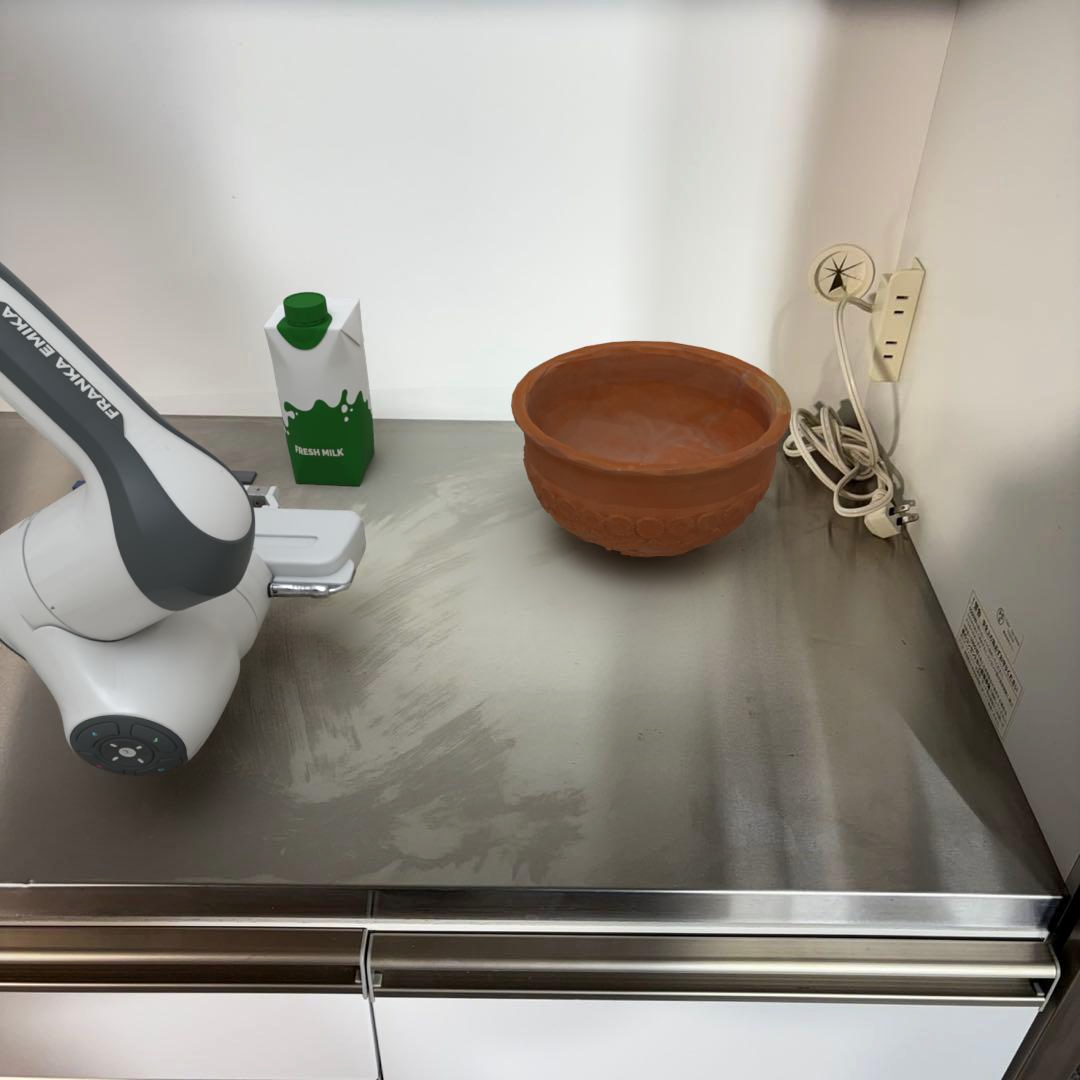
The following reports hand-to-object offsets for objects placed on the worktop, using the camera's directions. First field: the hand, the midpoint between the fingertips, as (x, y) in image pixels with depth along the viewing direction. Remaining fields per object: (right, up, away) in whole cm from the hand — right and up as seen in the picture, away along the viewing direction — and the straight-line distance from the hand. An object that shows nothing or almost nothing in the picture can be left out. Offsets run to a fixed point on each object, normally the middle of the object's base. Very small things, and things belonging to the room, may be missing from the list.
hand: (263, 492), depth 84 cm
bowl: (+34, -4, +12) cm, 36 cm away
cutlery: (-16, +2, +19) cm, 24 cm away
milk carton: (+2, +4, +22) cm, 22 cm away
